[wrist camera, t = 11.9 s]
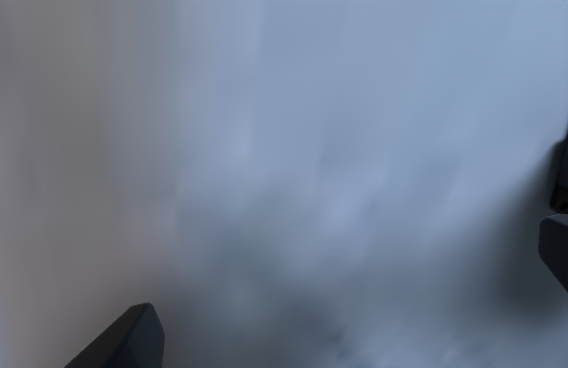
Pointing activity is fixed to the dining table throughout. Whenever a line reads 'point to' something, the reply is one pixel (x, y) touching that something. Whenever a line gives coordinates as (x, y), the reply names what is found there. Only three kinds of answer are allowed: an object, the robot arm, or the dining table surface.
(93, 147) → the dining table surface
